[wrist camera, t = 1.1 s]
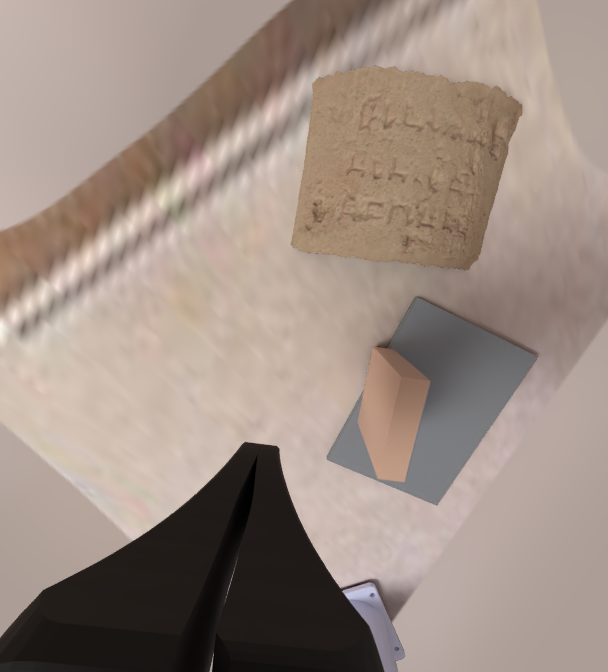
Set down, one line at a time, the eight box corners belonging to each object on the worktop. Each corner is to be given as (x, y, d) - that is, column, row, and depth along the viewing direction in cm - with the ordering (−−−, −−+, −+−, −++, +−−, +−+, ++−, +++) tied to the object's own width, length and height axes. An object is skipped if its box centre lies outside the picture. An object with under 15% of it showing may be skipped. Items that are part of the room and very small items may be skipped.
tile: (378, 424, 21) (407, 482, 15) (357, 422, 21) (377, 478, 15) (395, 349, 20) (433, 381, 14) (373, 346, 20) (401, 376, 14)
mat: (434, 501, 23) (436, 505, 23) (326, 456, 22) (327, 459, 22) (533, 355, 21) (538, 356, 20) (415, 296, 20) (417, 297, 19)
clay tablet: (523, 112, 18) (562, 84, 15) (483, 275, 20) (510, 276, 17) (295, 83, 17) (293, 49, 15) (280, 252, 20) (276, 249, 17)
